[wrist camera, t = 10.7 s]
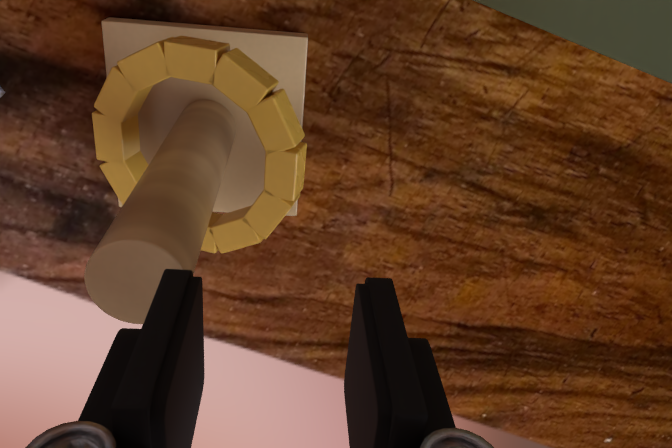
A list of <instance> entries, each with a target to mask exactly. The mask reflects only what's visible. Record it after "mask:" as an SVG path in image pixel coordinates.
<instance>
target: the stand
mask: <svg viewBox="0 0 672 448" xmlns="http://www.w3.org/2000/svg"><path fill="white" fill-rule="evenodd" d="M474 1H476V2H478V3H481V4H483V5H486V6H488V7H490V8H493V9H495V10H497V11H500V12H502V13H505V14H507V15H509V16H512V17H514V18H517V19H519V20H521V21H524V22H526V23H529V24H531V25H533V26H536V27H538V28H541V29H543V30H545V31H548V32H550V33H552V34H555V35H557V36H560V37H562V38H564V39H567V40H569V41H572V42H574V43H576V44H579V45H581V46H584V47H586V48H588V49H591V50H593V51H596V52H598V53H600V54H603V55H605V56H608V57H610V58H612V59H615V60H617V61H619V62H622V63H624V64H627V65H629V66H631V67H634V68H636V69H639V70H641V71H643V72H646V73H648V74H651V75H653V76H655V77H658V78H660V79H663V80H665V81H667V82H670V83H672V0H474Z"/></svg>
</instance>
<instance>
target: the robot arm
mask: <svg viewBox="0 0 672 448" xmlns="http://www.w3.org/2000/svg"><path fill="white" fill-rule="evenodd" d="M203 384H204V338H203V293H202V278H201V277H193V272H192V270H182V269H165V270H164V272H163V275H162V277H161V280H160V283H159V285H158V288H157V290H156V293H155V295H154V298H153V300H152V303H151V306H150V308H149V311H148V313H147V316H146V318H145V321H144V324H143V326H142V329H126V328H122V329H120V330H119V332H118V333H117V335H116V337H115V340H114V341H113V344H112V346H111V349H110V350H109V353H108V355H107V357H106V360H105V362H104V364H103V366H102V368H101V371H100V373H99V375H98V378H97V380H96V382H95V384H94V386H93V389H92V391H91V393H90V395H89V397H88V400H87V402H86V404H85V407H84V409H83V411H82V413H81V416H80V418H79V420H78V421H74V422H69V423H63V424H60V425H58V426H55V427H53V428H51V429H48V430H46V431H45V432H43V433H42V434H40V435H39V436H37V437H36V438H35V439H34V440H33V441H32V442H31V443H30V444H29V445H28V446H27V447H26V448H191V444H192V440H193V435H194V430H195V425H196V420H197V415H198V410H199V406H200V401H201V396H202V391H203ZM344 393H345V404H346V414H347V424H348V433H349V445H350V448H494V447H493V446H492V445H491V444H490V443H488V442H487V441H486V440H485V439H483V438H482V437H481V436H478V435H476V434H474V433H472V432H470V431H467V430H463V429H458V428H456V427H455V424H454V421H453V417H452V414H451V411H450V408H449V405H448V401H447V398H446V395H445V392H444V389H443V385H442V382H441V379H440V376H439V373H438V370H437V366H436V363H435V360H434V357H433V354H432V350H431V347H430V344H429V342H428V340H427V339H424V338H408V337H407V333H406V330H405V326H404V322H403V318H402V314H401V311H400V307H399V303H398V299H397V296H396V292H395V288H394V284H393V281H392V279H391V278H366V280H365V284H357V285H356V290H355V298H354V306H353V314H352V322H351V330H350V338H349V346H348V354H347V362H346V370H345V379H344Z"/></svg>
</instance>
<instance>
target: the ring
mask: <svg viewBox="0 0 672 448" xmlns="http://www.w3.org/2000/svg"><path fill="white" fill-rule="evenodd" d="M170 77H172V78H178V79H183V80H189V81H194V82H200V83H205V84H211V85H213V86H214V87H215V88H216V89H218V90H219V91H220V92H221V93H223V94H224V95H225V96H226V97H228V98H229V99H230V100H231V101H233V102H234V103H235V104H236V105H238V106H239V107H240V108H241V109H243V110H244V111H245V112H246V113H247V114H248V116H249V118H250V120H251V122H252V125H253V127H254V129H255V131H256V133H257V135H258V137H259V139H260V141H261V143H262V145H263V147H264V150H265V172H264V190H263V191H262V193H261V194H260V195H259V197H258V198H257V199H256V201H255V202H254V203H253V205H251V206H248V207H245V208H242V209H238V210H235V211H232V212H229V213H226V214H218V213H214V212H212V214H211V217H210V221H209V224H208V227H207V231H206V234H205V237H204V241H203V244H202V247H201V250H202V251H206V252H211V253H216V252H217V251H218V250H219V251H220V253H226V252H229V251H233V250H236V249H240V248H243V247H247V246H250V245H254V244H257V243H260V242H261V241H262V240H263V238H264V239H267V237H268V236H269V235H270V234H271V232H272V231H273V230H274V229H275V228H276V226H277V225H278V224H279V223H280V221H281V220H282V219H283V218H284V216H285V215H286V214H287V213H288V211H289V210H290V209H291V208H292V206H293V205H294V204H295V202H296V201H297V199H298V198H299V197H300V192H301V190H302V189H303V184H304V172H305V161H306V149H307V143H305V142H300V141H301V140H302V139H303V138H304V137H305V134H304V132H303V130H302V127H301V125H300V123H299V121H298V118H297V116H296V114H295V112H294V109H293V107H292V105H291V103H290V101H289V98H288V96H287V94H286V92H285V90H284V89H279V90H276V91H274V89H275V88H276V86H277V85H278V83H279V81H278V80H277V79H275V78H274V77H273V76H272V75H270V74H269V73H268V72H267V71H265V70H264V69H263V68H262V67H260V66H259V65H258V64H257V63H256V62H254V61H253V60H252V59H251V58H249V57H248V56H247V55H246V54H244V53H243V52H242V51H241V50H239V49H238V48H234V49H232V50H230V44H229V43H223V42H217V41H211V40H206V39H200V38H194V37H188V36H182V35H181V36H178V37H175V38H174V37H170V38H167V39H164V40H161V41H158V42H156V43H154V44H152V45H150V46H148V47H146V48H143V49H141V50H139V51H137V52H135V53H133V54H131V55H129V56H127V57H125V58H123V59H121V60H119V61H117V65H116V66H113V67H112V68H111V70H110V72H109V75H108V77H107V79H106V81H105V83H104V85H103V87H102V89H101V91H100V93H99V95H98V97H97V100H96V102H95V104H94V107H95V108H96V109H97V111H94V112H92V120H93V129H94V139H95V148H96V157H97V160H102V161H105V162H104V163H102V164H100V168H101V170H102V171H103V173H104V175H105V176H106V178H107V180H108V181H109V183H110V185H111V187H112V188H113V190H114V192H115V193H116V195H117V197H118V198H119V200H120V202H121V203H122V205H124V203H125V202H126V200H127V198H128V197H129V195H130V194H131V192H132V190H133V189H134V187H135V186H136V184H137V183H138V181H139V179H140V178H141V176H142V175H143V173H144V171H145V170H146V168H147V167H148V163H147V161H146V160H145V158H144V156H143V154H142V153H141V151H140V138H139V123H138V112H139V111H140V109H141V107H142V105H143V103H144V101H145V99H146V98H147V96H148V94H149V92H150V90H151V88H152V86H153V85H155V84H157V83H159V82H161V81H163V80H166V79H168V78H170ZM273 91H274V92H273Z"/></svg>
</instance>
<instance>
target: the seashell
mask: <svg viewBox="0 0 672 448" xmlns="http://www.w3.org/2000/svg"><path fill="white" fill-rule="evenodd" d="M4 94H5V91H4V90H3V89H2V87H1V86H0V98H1V97H2V96H3V95H4Z"/></svg>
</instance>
